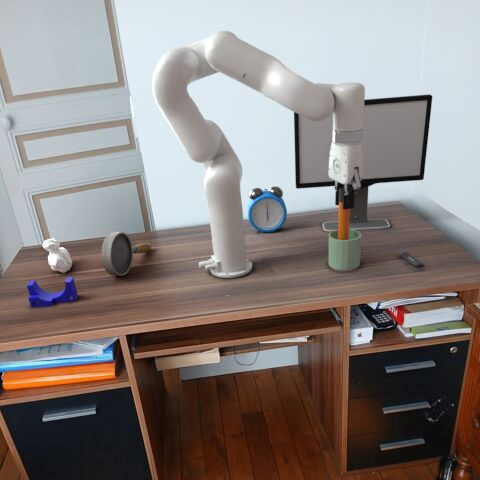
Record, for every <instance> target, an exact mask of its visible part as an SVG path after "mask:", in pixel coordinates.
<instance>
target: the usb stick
mask: <svg viewBox="0 0 480 480" xmlns="http://www.w3.org/2000/svg"><path fill="white" fill-rule="evenodd" d="M398 256H399V257H400V258H401V259H403V261H405V262H407V263H408V264H409V265H410V266H412V267H413V268H415V269H420V268H424V264H423V262H421V261H419V260H418V259H416V258H415V257H413V256H412V255H411V254H409V253H408V252H406V251H403V252H401V253H400V254H399V255H398Z"/></svg>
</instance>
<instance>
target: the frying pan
mask: <svg viewBox="0 0 480 480" xmlns="http://www.w3.org/2000/svg"><path fill="white" fill-rule="evenodd" d="M151 249H152V245H151V243H149V242H143V243H138V244H136V245H133V242H132V239H131V238H130V236H129V235H128V234H127V233H126V232H124V231H111V232H109V233H108V234H107V235H106V236H105V238H104V239H103V242H102V246H101V251H100V252H101V263H102V265H103V269H104V271H105V272H106V273H107V274H109V275H110V276H117V277H123V276H125V275H127V274H128V273H129V271H130V269H131V267H132V264H133V261H134V254H143V253H146V252H148V251H149V252H150V251H151Z"/></svg>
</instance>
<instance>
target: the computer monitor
mask: <svg viewBox="0 0 480 480" xmlns="http://www.w3.org/2000/svg"><path fill="white" fill-rule="evenodd" d="M432 105H433V95H432V94H430V93H429V94H428V93H427V94H417V95H406V96H405V95H404V96H392V97H382V98H381V97H380V98H367V99H364V117H363V135H362V143H361V144H362V178H361V181H360V184H361V188H359V189H357V190H356V194H355V197H354V208H350V219H349V229H353V230H357V231H363V230H378V229H381V230H383V229H389V228H390V227H391V224H390V222H389V220H388V219H386V218H381V217H380V218H368V203H369V202H368V200H369V187H371V186H373V185H376V184H385V183H386V184H387V183H399V182H414V181H416V182H417V181H423V180H424V179H425V172H426V170H425V169H426V162H427V161H426V160H427V152H428V143H429V133H430V123H431V113H432ZM293 132H294V175H295V177H294V179H295V189H297V190H298V189H311V188H326V187H327V188H328V187H329V188H330V187H335V183H334V180H333V179H331V178H330V177H329V174H328V172H329V157H330V149H331V144H332V135H333V113H331V115H330V116H329V117H328V118H326V119H325V120H322V121H312V120H310V119H307V118H305V117H303V116H301V115H299V114H297V113H295V112H293ZM351 182H352V180H351ZM348 186H349V187H350V186H352V185H348ZM321 225H322V229H323V231H325V232H328V233H330V232H332V231H334V230H338V220H335V221H334V220H333V221H325V222H322V224H321Z"/></svg>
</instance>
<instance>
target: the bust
mask: <svg viewBox="0 0 480 480" xmlns="http://www.w3.org/2000/svg"><path fill="white" fill-rule="evenodd" d="M60 244H61V242H60V241H59V240H57V239H55V237H53V238H51V237H50V238H48V239H45V240H43V243H42V245H41V246H42V248H43V249H44V250H45V251H47V252H49V254H48V255H47V260H48V265H49V266H50V268H51V270H53V271H54V272H60V273H62V274H65V273H66V272H69V271H70V270H71V268H72V266H73V260H72V259H71V254H70V252H69V251H68V250H67V249H66V248H65V247H63V246H62V247H60V246H61V245H60Z"/></svg>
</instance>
